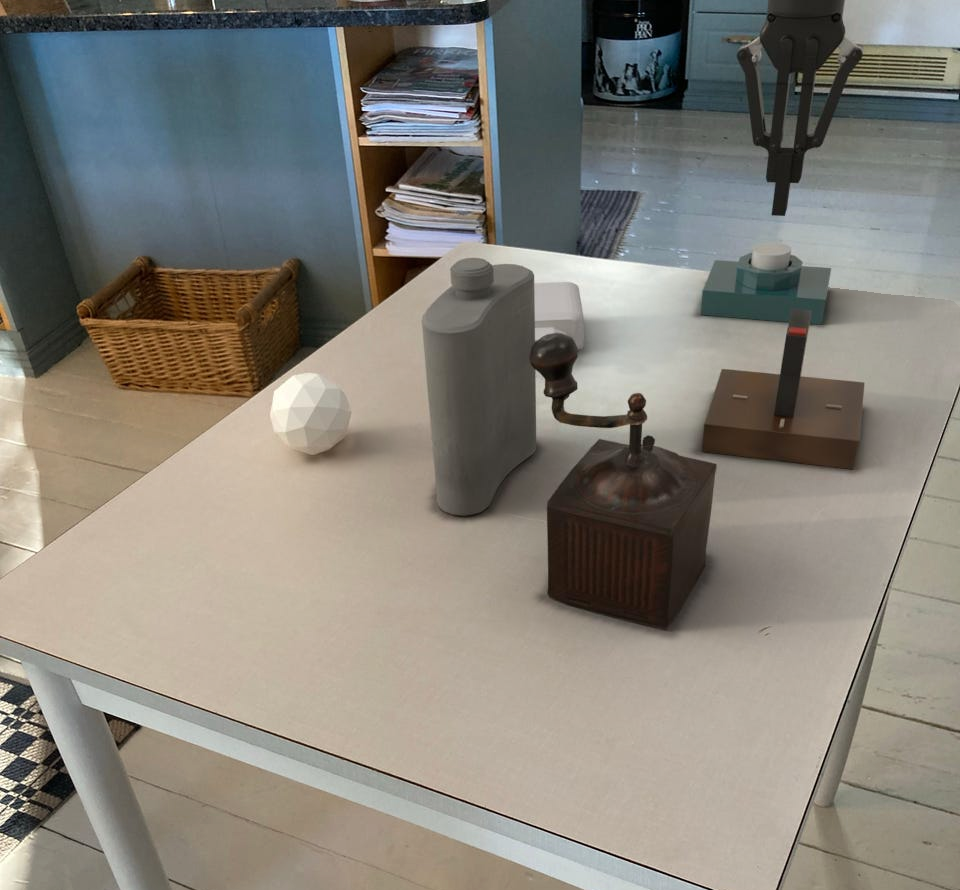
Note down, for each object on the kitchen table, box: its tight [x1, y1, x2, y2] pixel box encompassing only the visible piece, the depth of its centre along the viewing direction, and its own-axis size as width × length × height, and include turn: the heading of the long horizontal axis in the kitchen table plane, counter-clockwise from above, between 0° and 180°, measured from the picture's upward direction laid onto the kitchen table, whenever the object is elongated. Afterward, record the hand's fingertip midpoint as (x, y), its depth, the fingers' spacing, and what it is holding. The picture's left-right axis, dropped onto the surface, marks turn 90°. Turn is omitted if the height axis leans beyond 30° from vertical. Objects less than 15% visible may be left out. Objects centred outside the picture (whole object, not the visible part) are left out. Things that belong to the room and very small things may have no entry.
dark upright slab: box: [774, 309, 812, 417], centre depth 97 cm, size 6×2×8 cm, turn 162°
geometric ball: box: [269, 372, 352, 456], centre depth 100 cm, size 8×8×8 cm
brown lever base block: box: [700, 368, 865, 470], centre depth 100 cm, size 14×12×3 cm
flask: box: [421, 257, 537, 517], centre depth 91 cm, size 15×6×20 cm, turn 154°
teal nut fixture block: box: [699, 252, 832, 325], centre depth 123 cm, size 14×10×5 cm
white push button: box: [751, 241, 792, 270], centre depth 121 cm, size 4×4×2 cm
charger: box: [534, 281, 585, 351], centre depth 116 cm, size 5×9×15 cm
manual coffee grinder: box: [529, 333, 717, 631], centre depth 79 cm, size 16×11×18 cm
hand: (779, 211), depth 118 cm, fingers closed
